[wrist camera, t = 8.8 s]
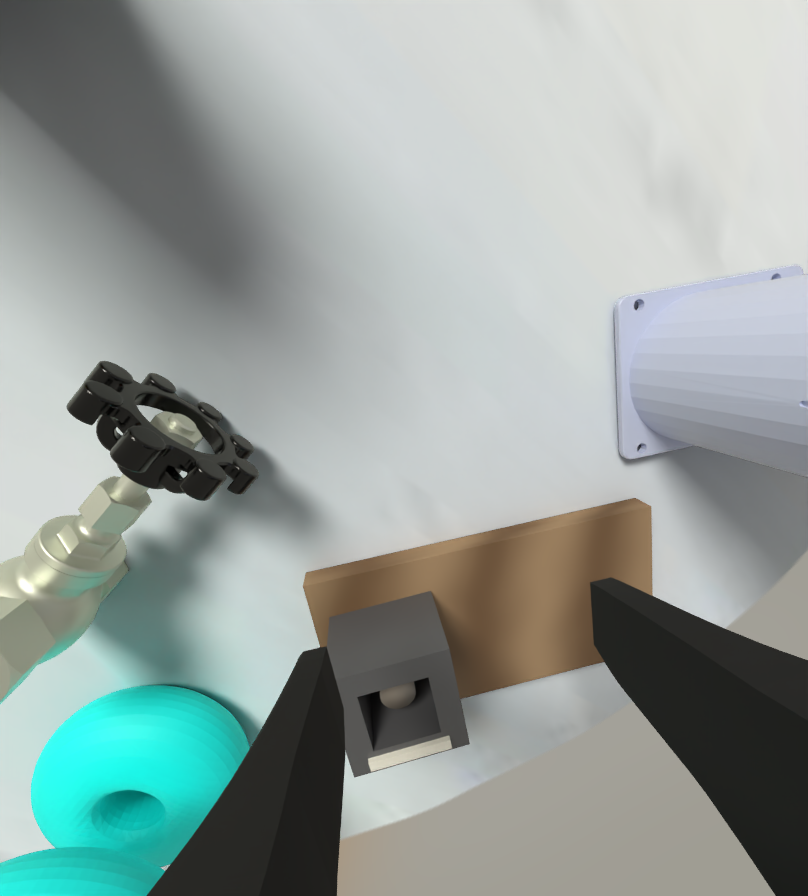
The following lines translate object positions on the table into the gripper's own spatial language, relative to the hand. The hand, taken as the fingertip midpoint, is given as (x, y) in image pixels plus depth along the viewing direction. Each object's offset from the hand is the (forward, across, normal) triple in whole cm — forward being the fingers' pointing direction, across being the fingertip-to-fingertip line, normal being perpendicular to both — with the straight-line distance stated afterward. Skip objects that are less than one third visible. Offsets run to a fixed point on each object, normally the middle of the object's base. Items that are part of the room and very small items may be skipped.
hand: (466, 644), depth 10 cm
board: (+10, -3, +7) cm, 12 cm away
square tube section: (+9, +2, +7) cm, 11 cm away
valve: (+10, +13, -3) cm, 17 cm away
